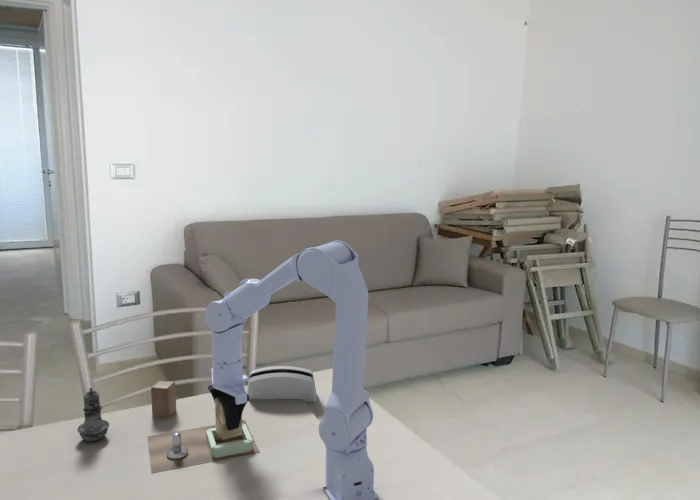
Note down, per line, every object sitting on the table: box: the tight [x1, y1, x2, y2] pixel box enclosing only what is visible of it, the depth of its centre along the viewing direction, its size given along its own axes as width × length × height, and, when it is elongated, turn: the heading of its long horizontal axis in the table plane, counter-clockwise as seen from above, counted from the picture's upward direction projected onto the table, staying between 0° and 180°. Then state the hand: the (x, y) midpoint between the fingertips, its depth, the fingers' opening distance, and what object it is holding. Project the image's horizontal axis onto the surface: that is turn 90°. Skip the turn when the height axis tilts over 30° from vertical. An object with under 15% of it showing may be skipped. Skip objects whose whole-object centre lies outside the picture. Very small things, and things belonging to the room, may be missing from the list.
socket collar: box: [206, 423, 254, 458], centre depth 111 cm, size 8×8×2 cm
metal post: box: [166, 431, 188, 460], centre depth 107 cm, size 4×4×4 cm
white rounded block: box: [246, 365, 317, 403], centre depth 133 cm, size 17×5×10 cm, turn 94°
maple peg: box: [214, 398, 243, 440], centre depth 111 cm, size 4×4×7 cm
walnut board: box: [147, 419, 261, 474], centre depth 112 cm, size 14×20×1 cm
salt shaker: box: [76, 387, 110, 442], centre depth 112 cm, size 6×6×12 cm
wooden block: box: [150, 380, 177, 420], centre depth 123 cm, size 4×4×8 cm
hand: (228, 423), depth 111 cm, fingers closed on maple peg, 4 cm apart
